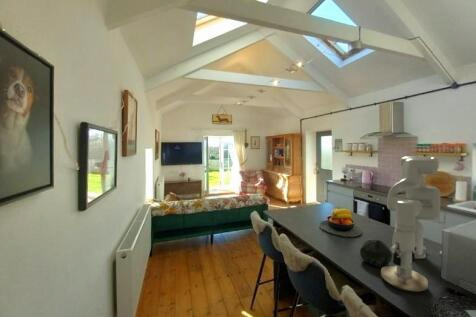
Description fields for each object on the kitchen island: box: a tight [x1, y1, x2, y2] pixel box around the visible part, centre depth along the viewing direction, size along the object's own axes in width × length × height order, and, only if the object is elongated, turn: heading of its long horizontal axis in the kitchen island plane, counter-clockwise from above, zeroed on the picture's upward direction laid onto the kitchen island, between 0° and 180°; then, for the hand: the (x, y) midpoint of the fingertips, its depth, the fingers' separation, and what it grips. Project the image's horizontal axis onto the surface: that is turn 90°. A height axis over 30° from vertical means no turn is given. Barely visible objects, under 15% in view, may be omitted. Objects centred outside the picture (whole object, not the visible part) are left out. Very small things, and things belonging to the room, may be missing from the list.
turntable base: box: [387, 282, 421, 293], centre depth 109 cm, size 14×14×2 cm
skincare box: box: [396, 249, 413, 278], centre depth 109 cm, size 6×4×12 cm
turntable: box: [380, 265, 429, 292], centre depth 109 cm, size 18×18×8 cm
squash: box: [359, 239, 393, 268], centre depth 127 cm, size 14×15×15 cm
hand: (403, 262), depth 108 cm, fingers open, 9 cm apart
